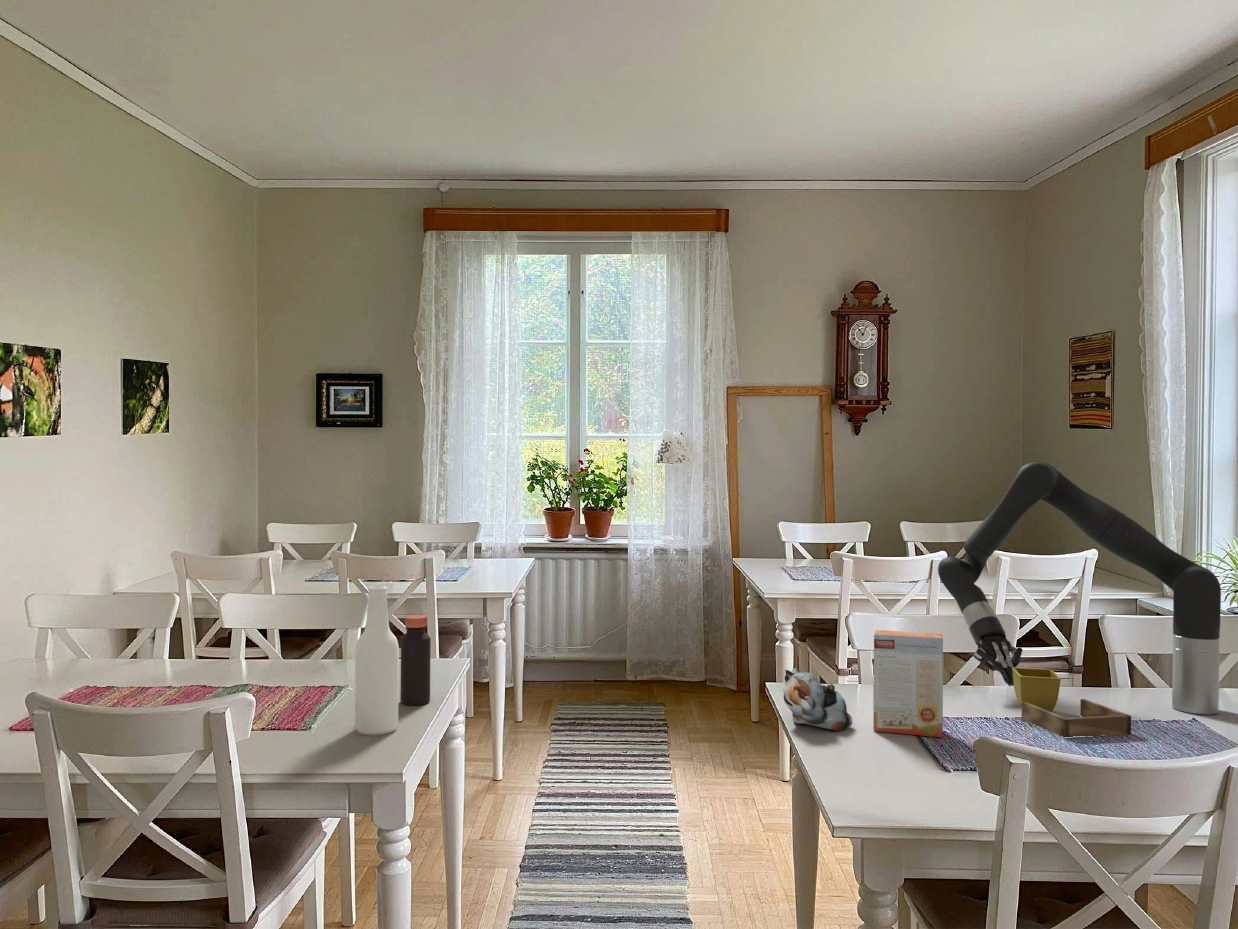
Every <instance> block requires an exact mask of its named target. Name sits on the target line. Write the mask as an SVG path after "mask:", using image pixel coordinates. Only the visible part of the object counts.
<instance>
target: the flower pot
mask: <svg viewBox="0 0 1238 929" xmlns="http://www.w3.org/2000/svg"><path fill="white" fill-rule="evenodd" d="M1012 670H1013V681H1014V686H1013V689H1014V693H1015V697H1016V700H1017V701H1018V703H1019V705H1020V707H1021V708H1022V702H1027V703H1029V704H1032V705H1034V706H1037V707H1039V708H1042V709H1044V710H1047V711H1049V712H1052V711H1053V710H1054V709H1055V706H1056V705H1057V703H1058V699H1059V693H1060V686H1061V681H1062V680H1061V677H1060V676H1059V675H1058V674H1057V673H1056V672H1055V671H1054V670H1052V669H1047V668H1046V669H1045V668H1029V667H1016V668H1012Z"/></svg>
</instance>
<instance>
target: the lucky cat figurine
mask: <svg viewBox="0 0 1238 929" xmlns="http://www.w3.org/2000/svg"><path fill="white" fill-rule="evenodd" d="M784 673H785V676H784V681H785V682H784V683H785V685H784V688H783V702H784V704H785V705H786V706H787V708H788V709H789V710H790V711H791V716H792V721H793V723H794V724H799V725H802V724H803V725H808V726H813V727H818V728H821V729H822V728H823V729H827V730H830V731H833V732H836V733H837V732H840V731H841V732H842V731H844V730H846V729H848V727H850V726H852V724H853V719H852V716H851V714H850V713H849V712H848V710H847V709H848V708H847V704H846V700H845V698H843V696H842V695H841V694H840V692H838V691H837V690H835V689H836V687H835V684H833V683H831V682H830V683H828V684H827V686H826V685H823V684H821V682H820V681H819V679H818V677H817V676H816V675H814V673H811V672H800V668H798V667H797V668H796V667H795V668H793V669H791V671H790V670H788V669H785V670H784Z"/></svg>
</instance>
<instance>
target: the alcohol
mask: <svg viewBox="0 0 1238 929" xmlns="http://www.w3.org/2000/svg"><path fill="white" fill-rule="evenodd" d="M367 590H368V592H367V596H368V598H367V608H366V609H367V610H366V623H365V627H364V631H363V633H362V634H361V635H360V636H359V638H358V639H357V641H356V644H355V656H354V657H355V658H354V659H355V664H354V665H355V669H354V670H355V673H354V675H355V676H354V678H355V679H354V729H355V731H356V732H357V733H358V734H360V735H364V736H381V735H387V734H390V733H394V732H395V731H396V729H397V728H398V726H399V676H400V674H399V670H400V669H399V667H400V666H399V664H400V661H399V660H400V659H399V658H400V657H399V656H400V652H399V651H400V646H399V641H398V639H397V637H396V636H395V634H394V633H393V632H392V630H391V628H390V625H389V624H390V622H389V609H388V587H387V586H386V585H371V586H369V587H367Z"/></svg>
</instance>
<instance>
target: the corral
mask: <svg viewBox="0 0 1238 929" xmlns="http://www.w3.org/2000/svg"><path fill="white" fill-rule="evenodd" d="M1079 707H1080V710H1079V711H1080V714H1079V715H1080V716H1082V717H1079V716H1078V717H1064V716H1062V715H1059V714H1056V713H1054V712H1052V711H1051V712H1049V711H1047V710H1044V709H1042V708H1039V707H1037V706H1034V705H1032V704H1029V703H1027V702H1022V707H1021V721H1022V720H1025V721H1028V722H1030V723H1032V724H1035V725H1036V726H1039V727H1042V728H1043V729H1046V730H1048V731H1050V732H1052V733H1055V734H1058V735H1059V736H1063V737H1073V736H1101V735H1102V736H1103V735H1106V736H1105V737H1115V736H1116V737H1117V735H1118V736H1130V735H1132V715H1130V714H1127V713H1125V712H1121V711H1119V710H1117V709H1115V708H1114V709H1113V708H1111V707H1108V706H1105V705H1102V704H1099V703H1097V702H1094V701H1091V700H1089V699H1085V698H1080V705H1079ZM1025 721H1024V722H1025ZM1036 726H1035V727H1036ZM1043 729H1042V730H1043ZM1048 731H1047V732H1048ZM1050 732H1049V733H1050ZM1052 733H1051V734H1052ZM1055 734H1054V735H1055ZM1114 735H1115V736H1114ZM1059 736H1058V737H1059ZM1103 737H1104V736H1103Z"/></svg>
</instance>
